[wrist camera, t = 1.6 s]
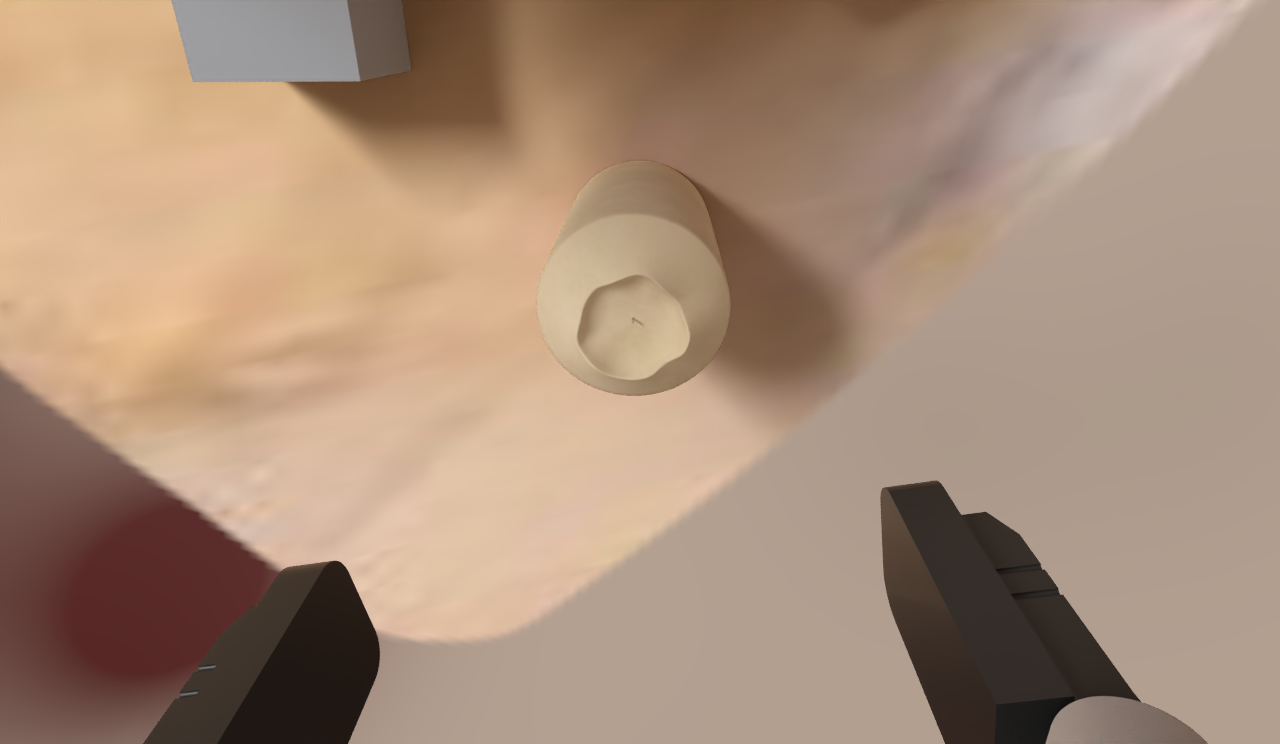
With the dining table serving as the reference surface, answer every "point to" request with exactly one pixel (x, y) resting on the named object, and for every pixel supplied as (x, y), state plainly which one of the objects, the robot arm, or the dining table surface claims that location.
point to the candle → (635, 283)
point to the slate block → (292, 39)
